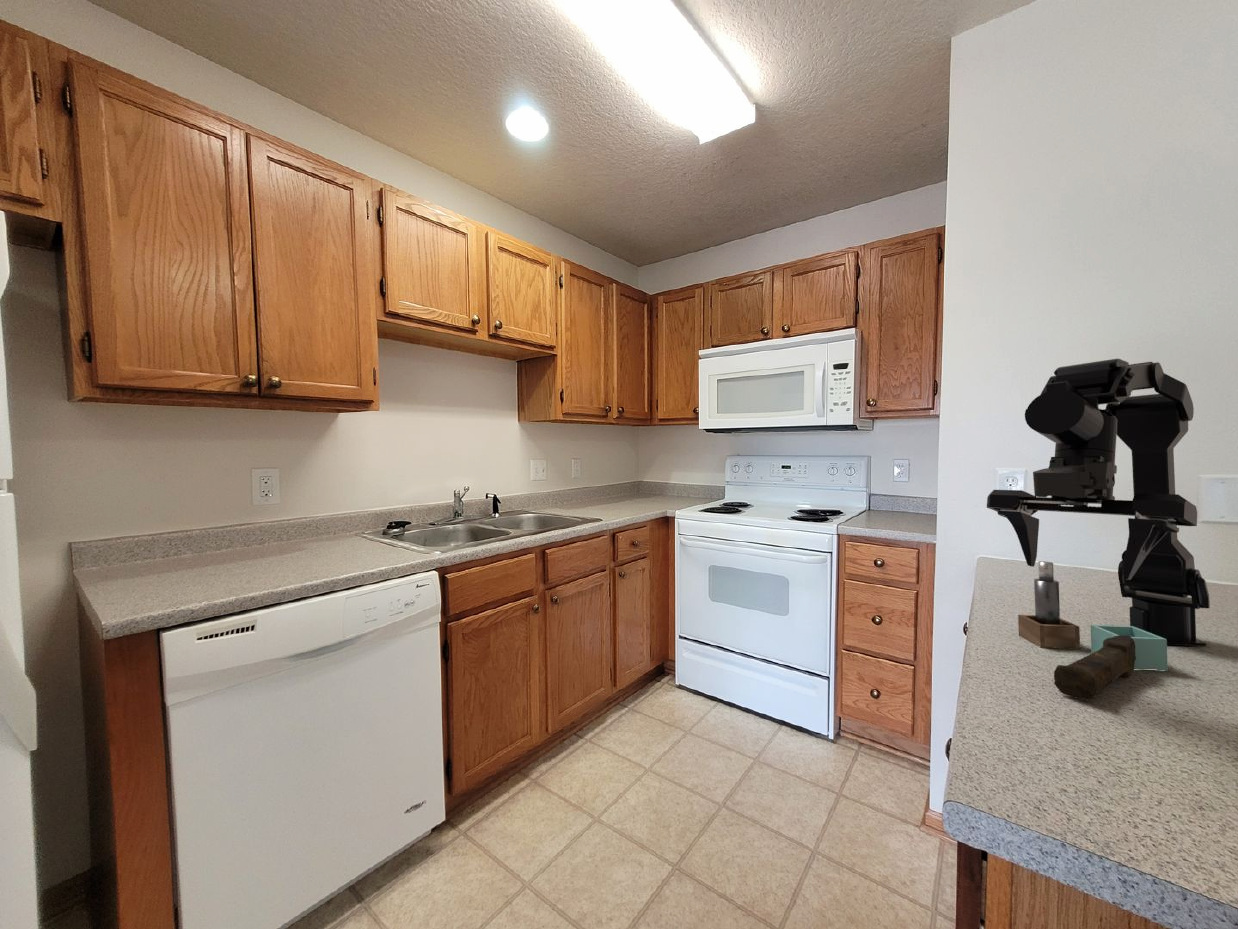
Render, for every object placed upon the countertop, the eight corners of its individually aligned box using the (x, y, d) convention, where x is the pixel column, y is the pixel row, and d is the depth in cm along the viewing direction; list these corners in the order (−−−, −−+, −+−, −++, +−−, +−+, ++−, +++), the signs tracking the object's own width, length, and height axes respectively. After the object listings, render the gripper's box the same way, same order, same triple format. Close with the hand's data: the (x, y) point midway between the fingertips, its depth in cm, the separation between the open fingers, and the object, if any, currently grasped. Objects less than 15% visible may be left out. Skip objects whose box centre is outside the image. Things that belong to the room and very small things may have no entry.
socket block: (1055, 636, 79) (1054, 615, 79) (1080, 649, 74) (1079, 626, 74) (1018, 635, 80) (1018, 614, 80) (1040, 647, 75) (1039, 625, 75)
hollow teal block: (1133, 656, 71) (1132, 626, 71) (1167, 671, 66) (1166, 639, 66) (1091, 654, 72) (1090, 624, 72) (1121, 669, 67) (1120, 637, 67)
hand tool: (1094, 706, 57) (1093, 667, 57) (1052, 692, 61) (1052, 655, 61) (1160, 673, 65) (1159, 639, 65) (1119, 662, 69) (1119, 630, 69)
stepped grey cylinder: (1052, 639, 78) (1049, 560, 78) (1065, 645, 76) (1063, 564, 76) (1031, 638, 79) (1029, 560, 79) (1043, 645, 76) (1041, 564, 76)
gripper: (972, 442, 67) (961, 553, 65) (1172, 433, 50) (1165, 580, 49) (1009, 460, 72) (1000, 563, 70) (1200, 457, 56) (1195, 590, 54)
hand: (1075, 572), depth 60 cm, fingers open, 9 cm apart
